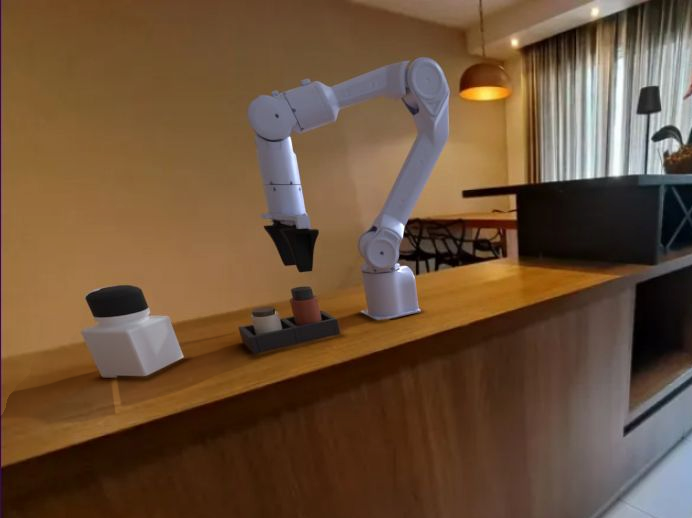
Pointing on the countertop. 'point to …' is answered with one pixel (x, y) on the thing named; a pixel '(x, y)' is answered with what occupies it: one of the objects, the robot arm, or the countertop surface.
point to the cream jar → (265, 320)
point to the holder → (289, 333)
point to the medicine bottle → (128, 333)
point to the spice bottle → (304, 306)
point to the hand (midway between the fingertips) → (297, 268)
